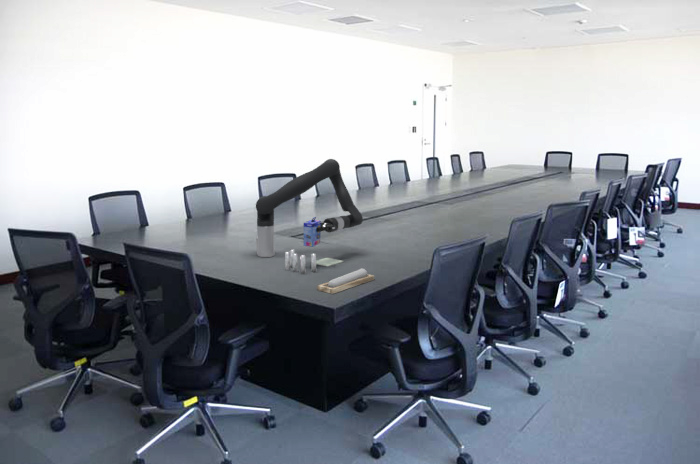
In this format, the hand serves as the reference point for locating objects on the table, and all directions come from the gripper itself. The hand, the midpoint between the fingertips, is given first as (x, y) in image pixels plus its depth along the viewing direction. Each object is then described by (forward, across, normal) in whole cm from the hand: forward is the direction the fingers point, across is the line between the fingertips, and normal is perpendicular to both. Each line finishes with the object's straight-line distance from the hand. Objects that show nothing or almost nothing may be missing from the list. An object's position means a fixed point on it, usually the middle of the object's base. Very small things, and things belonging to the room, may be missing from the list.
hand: (311, 229), depth 280 cm
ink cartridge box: (0, 0, +8) cm, 8 cm away
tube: (+14, +35, +20) cm, 43 cm away
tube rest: (+14, +35, +20) cm, 42 cm away
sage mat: (-11, 0, +20) cm, 23 cm away
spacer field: (+10, 0, +20) cm, 22 cm away
